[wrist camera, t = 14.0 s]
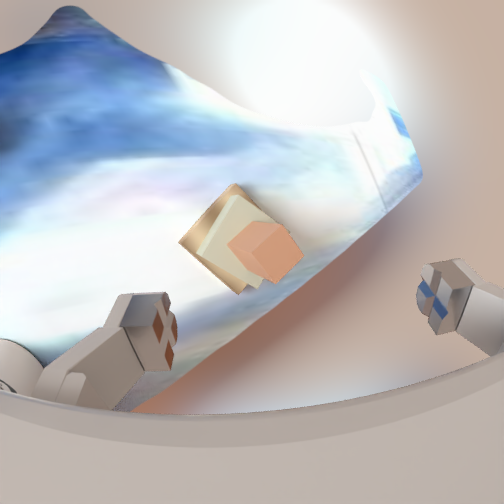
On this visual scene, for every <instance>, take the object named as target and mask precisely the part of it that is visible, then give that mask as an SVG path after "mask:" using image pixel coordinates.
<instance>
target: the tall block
mask: <svg viewBox="0 0 504 504" xmlns="http://www.w3.org/2000/svg"><path fill="white" fill-rule="evenodd" d="M226 245H227V246H228V247H229V248H230V250H231V251H232V252H233V253H234V254H235V256H236V257H237V258H238V259H239V260H240V262H241V263H242V264H243V265H244V267H245V268H246V269H247V270H248V271H250V272H252V273H254V274H256V275H258V276H260V277H262V278H265V279H267V280H269V281H271V282H273V283H275V284H276V283H277V282H278V281H279V280H280V279H281V278H282V277H283V276H285V275H286V274H287V273H288V272H289V271H290V270H291V269H292V268H293V267H294V266H295V265H296V264H297V263H298V262H299V261H300V260H301V259H302V258H303V256H304V255H303V253H302V252H301V250H300V249H299V247H298V246H297V245H296V243H295V242H294V240H293V239H292V237H291V236H290V235H289V233H288V232H287V230H286V229H285V228H284V226H283V225H282V224H275V223H265V222H255V221H252V222H251V223H250V224H249V225H247V226H246V227H245V228H244V229H243V230H242V231H241V232H240V233H239V234H237V235H236V236H235V237H234V238H233V239H232V240H231V241H230V242H229V243H227V244H226Z"/></svg>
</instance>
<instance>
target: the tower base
mask: <svg viewBox="0 0 504 504" xmlns="http://www.w3.org/2000/svg"><path fill="white" fill-rule="evenodd" d="M232 195H240V196H241V197H243V198H244V199H245V200H247V201H248V202H250V203H251V204H253V205H254V206H255V207H257V208H258V209H260V208H259V207H258V206H257V205H256V204H255V203H254V202H253V201H252V200H251V199H250V198H249V197H248V196H247V194H246V193H245V192H244V191H243V190H242V189H241V188H240V187H239V186H238V185H237V184H236V183H235V184H231V185H230V186H229V187H228V188H227V189H226V190H225V191H224V192H223V193H222V194H221V195H220V196H219V197H218V198H217V199H216V201H215V202H214V203H213V204H212V205H211V206H210V207H209V208H208V209H207V210H206V211H205V213H204V214H203V215H202V216H201V217H200V218H199V219H198V220H197V221H196V222H195V224H194V225H193V226H192V227H191V228H190V229H189V230H188V231H187V233H186V234H185V235H184V236H183V237H182V238H181V239H180V241H179V242H178V243H179V244H180V245H182V246H183V247H184V248H185V249H186V250H187V251H188V252H189V253H190V254H192V255H193V256H194V257H195V258H196V259H197V260H198V261H199V262H200V263H202V264H203V265H204V266H205V267H206V268H207V269H208V270H209V271H211V272H212V273H213V274H214V275H215V276H216V277H217V278H218V279H220V280H221V281H222V282H223V283H224V284H225V285H226V286H228V287H229V288H230V289H231V290H232V291H233V292H235V293H236V294H238V295H239V294H240V293H241V292H242V290H243V289H244V288H245V287H246V286H247V283H245V282H244V281H242V280H240V279H239V278H237V277H235V276H233V275H232V274H230V273H228V272H227V271H225V270H223V269H222V268H220V267H218V266H216V265H215V264H213V263H211V262H210V261H208V260H206V259H205V258H203V257H201V256H200V255H198V254H196V252H197V250H198V249H199V247H200V245H201V244H202V242H203V240H204V239H205V237H206V235H207V234H208V232H209V230H210V229H211V227H212V225H213V224H214V222H215V220H216V219H217V217H218V215H219V214H220V212H221V211H222V209H223V207H224V206H225V204H226V202H227V201H228V199H229V198H230V196H232ZM260 210H261V209H260ZM261 211H262V210H261ZM262 212H263V211H262Z"/></svg>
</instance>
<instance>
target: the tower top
mask: <svg viewBox="0 0 504 504" xmlns="http://www.w3.org/2000/svg"><path fill="white" fill-rule="evenodd" d="M252 221H255V222H265V223H275V224H279V223H278V222H276V221H275V220H273V219H272V218H271V217H269V216H268V215H266V214H265V213H264V212H262V211H261V210H260V209H258V208H257V207H255V206H254V205H253V204H251V203H250V202H248V201H247V200H245V199H244V198H243V197H241V196H240V195H232V196H230V198H229V199H228V201H227V202H226V204H225V206H224V207H223V209H222V211H221V212H220V214H219V215H218V217H217V219H216V220H215V222H214V224H213V225H212V227H211V229H210V230H209V232H208V234H207V235H206V237H205V239H204V240H203V242H202V244H201V245H200V247H199V249H198V250H197V252H196V254H198V255H200V256H201V257H203V258H205V259H206V260H208V261H210V262H211V263H213V264H215V265H216V266H218V267H220V268H222V269H223V270H225V271H227V272H228V273H230V274H232V275H233V276H235V277H237V278H239V279H240V280H242V281H244V282H245V283H247V284H249V285H251V286H252V287H254V288H256V289H258V288H259V286H260V284H261V283H262V281H263V279H264V278H262V277H260V276H258V275H256V274H254V273H252V272H250V271H248V270H247V269H246V268H245V267H244V265H243V264H242V263H241V262H240V260H239V259H238V258H237V257H236V256H235V254H234V253H233V252H232V251H231V250H230V248H229V247H228V246H227V245H226V244H227V243H229V242H230V241H231V240H232V239H233V238H234V237H235V236H236V235H237V234H239V233H240V232H241V231H242V230H243V229H244V228H245V227H246V226H247V225H249V224H250V223H251V222H252ZM285 229H286V228H285ZM286 230H287V229H286ZM287 232H288V233H289V234H290V231H288V230H287Z"/></svg>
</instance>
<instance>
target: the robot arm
mask: <svg viewBox="0 0 504 504" xmlns="http://www.w3.org/2000/svg"><path fill="white" fill-rule="evenodd" d="M421 277H422V279H423V281H422V282H421V283H420V285H419V286H418V289H417V294H416V298H417V305H418V308H419V310H420V311H421V313H422V314H424V315H426V316H428V317H429V318H428V323H429V325H430V326H431V328H432V329H433V331H434V332H435V334H436V335H440V334H444V333H448V332H452V331H456V332H457V333H458V334H460V335H461V336H463V337H464V338H465V339H467V340H468V341H470V342H471V343H473V344H474V345H475V346H477V347H478V348H480V349H481V350H482V351H484V352H485V353H486V354H488V355H489V356H491V357H489V358H487V359H484V360H482V361H479V362H477V363H474V364H472V365H469V366H466V367H464V368H461V369H458V370H456V371H453V372H450V373H447V374H444V375H441V376H438V377H435V378H432V379H429V380H425V381H422V382H419V383H415V384H412V385H408V386H405V387H401V388H397V389H394V390H389V391H386V392H381V393H377V394H373V395H369V396H364V397H359V398H354V399H350V400H344V401H339V402H333V403H328V404H321V405H315V406H308V407H300V408H293V409H285V410H276V411H264V412H252V413H237V414H212V415H211V414H209V415H178V414H150V413H134V412H123V411H113V410H112V409H113V408H114V407H115V406H116V405H117V404H118V403H119V401H120V400H121V399H122V398H123V397H124V396H125V395H126V393H127V392H128V391H129V390H130V389H131V388H132V387H133V385H134V384H135V383H136V382H137V381H138V380H139V379H140V378H141V376H142V375H143V374H144V373H145V372H144V371H171V366H172V361H173V357H174V353H173V350H172V347H173V346H174V345H175V344H176V342H177V323H176V319H175V315H174V314H173V313H172V312H171V311H170V310H169V308H170V304H171V302H170V299H169V296H168V294H167V293H166V292H151V293H130V294H121V295H119V296H118V298H117V300H116V302H115V304H114V306H113V308H112V310H111V312H110V314H109V316H108V318H107V320H106V322H105V324H104V326H103V328H97V329H96V330H95V331H93V332H92V333H91V334H89V335H88V336H86V337H85V338H84V339H82V340H81V341H80V342H78V343H77V344H76V345H74V346H73V347H72V348H70V349H69V350H68V351H66V352H65V353H64V354H62V355H61V356H60V357H58V358H57V359H56V360H54V361H53V362H52V363H50V364H49V365H48V366H46V367H45V368H43V367H42V365H41V364H40V363H39V361H38V360H37V359H36V358H35V357H34V356H33V355H32V354H31V353H30V352H28V351H27V350H26V349H24V348H23V347H21V346H20V345H18V344H16V343H14V342H11V341H8V340H3V339H0V504H504V288H502V287H500V286H498V285H495V284H493V283H491V282H487V283H486V282H485V281H484V280H483V279H482V278H481V277H480V276H479V274H477V272H476V271H474V270H473V269H472V268H471V267H470V266H469V265H468V264H467V263H466V262H465V261H464V260H463V259H461V258H457V259H451V260H448V261H442V262H437V263H430V264H425V265H424V267H423V268H422V272H421Z"/></svg>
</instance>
